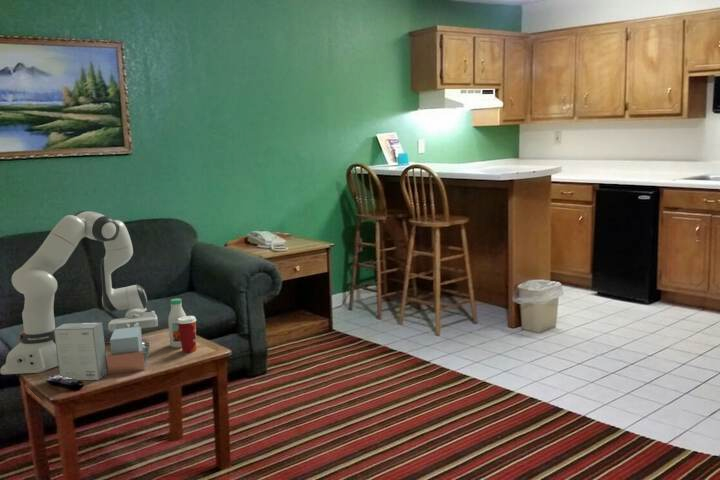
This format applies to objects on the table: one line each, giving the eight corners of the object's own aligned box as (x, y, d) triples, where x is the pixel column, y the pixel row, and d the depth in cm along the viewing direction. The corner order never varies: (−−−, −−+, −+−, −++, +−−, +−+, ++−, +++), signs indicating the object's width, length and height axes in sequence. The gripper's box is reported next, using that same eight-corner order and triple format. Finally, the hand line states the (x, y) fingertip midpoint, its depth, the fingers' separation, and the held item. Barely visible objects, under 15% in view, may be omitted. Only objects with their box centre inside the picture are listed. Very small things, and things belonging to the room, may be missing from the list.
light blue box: (112, 362, 249) (110, 339, 247) (116, 350, 262) (114, 329, 261) (139, 359, 251) (137, 336, 250) (142, 348, 264) (140, 326, 263)
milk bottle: (167, 348, 274) (163, 301, 271) (175, 342, 282) (171, 297, 278) (184, 348, 273) (180, 301, 270) (192, 342, 280) (188, 297, 277)
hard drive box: (109, 373, 247) (103, 322, 244) (99, 380, 240) (93, 328, 237) (70, 373, 249) (64, 322, 246) (59, 380, 242) (52, 328, 238)
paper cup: (201, 351, 268) (198, 318, 266) (183, 355, 264) (180, 321, 262) (194, 346, 275) (192, 314, 272) (177, 350, 271) (174, 317, 268)
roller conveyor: (108, 374, 246) (106, 356, 245) (117, 350, 274) (115, 334, 272) (144, 369, 249) (142, 352, 248) (149, 346, 276) (148, 331, 275)
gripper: (109, 315, 285) (104, 324, 271) (158, 310, 289) (156, 318, 276) (110, 329, 286) (106, 338, 272) (159, 324, 290) (157, 333, 277)
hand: (131, 328), depth 274 cm, fingers closed
